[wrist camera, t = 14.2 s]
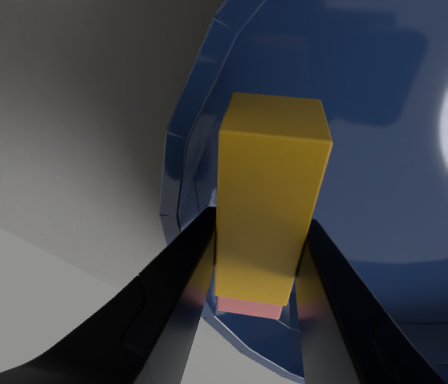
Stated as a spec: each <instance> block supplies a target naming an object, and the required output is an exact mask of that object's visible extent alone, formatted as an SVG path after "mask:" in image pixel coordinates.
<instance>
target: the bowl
mask: <svg viewBox="0 0 448 384" xmlns="http://www.w3.org/2000/svg"><path fill="white" fill-rule="evenodd" d="M233 92H241V93H252V94H264V95H275V96H287V97H298V98H310V99H319V100H321V102H322V105H323V109H324V112H325V116H326V119H327V123H328V127H329V130H330V134H331V137H332V141H333V145H332V149H331V152H330V156H329V159H328V163H327V166H326V170H325V173H324V177H323V181H322V184H321V188H320V191H319V195H318V198H317V202H316V205H315V209H314V212H313V216H312V219H316V220H317V221H318V222H319V223H320V224H321V226H322V227H323V228H324V230H325V231H326V232H327V234H328V235H329V236H330V238H331V239H332V240H333V242H334V243H335V244H336V245H337V247H338V248H339V249H340V251H341V252H342V253H343V255H344V256H345V257H346V259H347V260H348V261H349V263H350V264H351V265H352V267H353V268H354V269H355V270H356V272H357V273H358V274H359V276H360V277H361V278H362V280H363V281H364V282H365V284H366V285H367V286H368V288H369V289H370V290H371V291H372V293H373V294H374V295H375V297H376V298H377V299H378V301H379V302H380V303H381V305H382V306H383V307H384V309H385V312H388V314H389V315H390V316H391V318H392V319H393V320H394V322H395V323H396V324H397V325H398V327H399V328H400V329H401V330H402V332H403V333H404V334H405V335H406V337H407V338H408V339H409V340H410V342H411V343H412V344H413V345H414V346H415V348H416V349H417V350H418V351H419V352H420V353H421V354H422V356H423V357H424V358H425V359H426V360H427V361H428V363H429V364H430V365H431V366H432V367H433V368H434V369H435V370H436V371H437V373H438V374H439V375H440V376H441V377H442V378H443V379H444V380H445V381H446V382H447V384H448V0H223V2H222V3H221V5H220V6H219V7H218V9H217V10H216V11H215V15H214V16H213V17H212V18H211V21H210V23H209V26H208V28H207V31H206V33H205V35H204V38H203V40H202V43H201V45H200V48H199V50H198V53H197V55H196V57H195V60H194V62H193V65H192V67H191V70H190V72H189V75H188V77H187V79H186V82H185V84H184V87H183V89H182V92H181V94H180V97H179V99H178V101H177V104H176V106H175V109H174V111H173V114H172V116H171V119H170V121H169V123H168V126H167V131H166V133H165V144H164V156H163V168H162V180H161V191H160V203H159V216H160V220H161V224H162V228H163V232H164V236H165V240H166V244H167V246H168V245H169V244H170V243H171V242H172V241H173V240H174V239H175V238H176V237H177V236H178V235H179V234H180V233H181V232H182V231H183V230H184V229H185V228H186V227H187V226H188V225H189V224H190V223H191V222H192V221H193V220H194V219H195V218H196V217H197V216H198V215H199V214H200V213H201V212H203V211H204V210H205V209H206V208H207V207H208V206H212V207H216V204H217V169H218V134H219V129H220V127H221V124H222V121H223V118H224V115H225V112H226V109H227V106H228V103H229V100H230V97H231V94H232V93H233ZM214 274H215V266H214V271H213V276H212V280H211V284H210V287H209V290H208V294H207V297H206V300H205V304H204V307H203V310H202V313H201V317H203V319H204V320H205V321H206V322H207V323H208V324H209V325H211V326H212V327H213V328H214V329H215V330H216V331H217V332H218V333H219V334H220V335H222V336H223V337H224V338H225V339H226V340H227V341H228V342H229V343H230V344H232V345H233V346H234V347H235V348H236V349H237V350H238V351H239V352H240V353H242V354H244V355H246V356H247V357H249V358H251V359H252V360H254V361H256V362H258V363H259V364H261V365H263V366H264V367H266V368H268V369H270V370H271V371H273V372H275V373H277V374H278V375H280V376H282V377H285V378H287V379H290V380H292V381H295V382H297V383H300V384H305V377H304V368H303V358H302V349H301V339H300V329H299V320H298V310H297V301H296V283H295V281H296V275H295V279H294V283H293V286H292V290H291V293H290V297H289V300H288V304H287V305H286V306H283V307H282V311H281V315H280V318H279V319H271V318H264V317H258V316H251V315H244V314H238V313H231V312H224V311H219V310H217V296H215V295H214Z"/></svg>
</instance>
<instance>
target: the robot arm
mask: <svg viewBox="0 0 448 384" xmlns="http://www.w3.org/2000/svg"><path fill="white" fill-rule="evenodd" d="M215 241H216V207H212V206H208V207H207V208H206V209H205V210H204V211H203V212H201V213H200V214H199V215H198V216H197V217H196V218H195V219H194V220H193V221H192V222H191V223H190V224H189V225H188V226H187V227H186V228H185V229H184V230H183V231H182V232H181V233H180V234H179V235H178V236H177V237H176V238H175V239H174V240H173V241H172V242H171V243H170V244H169V245H168V246H167V247H166V248H165V249H164V250H163V251H162V252H161V253H160V254H159V255H157V256H156V257H155V258H154V259H153V260H152V261H151V262H150V263H149V264H148V265H147V266H146V267H145V268H144V269H143V270H142V271H141V272H140V273H139V276H136V277H135V278H134V279H133V280H132V281H131V282H130V283H129V284H128V285H127V286H125V287H124V288H123V289H122V290H121V291H120V292H119V293H118V294H117V295H116V296H115V297H114V298H112V299H111V300H110V301H109V302H108V303H106V304H105V305H104V306H103V307H102V308H100V309H99V310H98V311H97V312H96V313H94V314H93V315H92V316H90V318H88V319H87V320H85V321H84V322H83V323H82V324H80V325H79V326H78V327H77V328H75V329H74V330H73V331H72V332H70V333H69V334H68V335H66V336H65V337H64V338H63V339H61V340H60V341H59V342H58V343H56V344H55V345H54V346H52V347H51V348H50V349H49V350H47V351H46V352H44V353H43V354H41V355H39V356H38V357H36V358H34V359H33V360H31V361H29V362H27V363H25V364H23V365H20V366H17V367H15V368H12V369H9V370H6V371H4V372H1V373H0V384H180V382H181V379H182V376H183V373H184V369H185V366H186V363H187V359H188V356H189V353H190V350H191V346H192V343H193V340H194V336H195V333H196V330H197V327H198V323H199V320H200V317H201V313H202V310H203V307H204V304H205V300H206V297H207V294H208V290H209V287H210V284H211V280H212V276H213V271H214V266H215ZM295 283H296V301H297V310H298V320H299V329H300V339H301V349H302V358H303V368H304V377H305V384H447V382H446V381H445V380H444V379H443V378H442V377H441V376H440V375H439V374H438V373H437V371H436V370H435V369H434V368H433V367H432V366H431V365H430V364H429V363H428V361H427V360H426V359H425V358H424V357H423V356H422V354H421V353H420V352H419V351H418V350H417V349H416V348H415V346H414V345H413V344H412V343H411V342H410V340H409V339H408V338H407V337H406V335H405V334H404V333H403V332H402V330H401V329H400V328H399V327H398V325H397V324H396V323H395V322H394V320H393V319H392V318H391V316H390V315H389V314H388V312H385V309H384V307H383V306H382V305H381V303H380V302H379V301H378V299H377V298H376V297H375V295H374V294H373V293H372V291H371V290H370V289H369V288H368V286H367V285H366V284H365V282H364V281H363V280H362V278H361V277H360V276H359V274H358V273H357V272H356V270H355V269H354V268H353V267H352V265H351V264H350V263H349V261H348V260H347V259H346V257H345V256H344V255H343V253H342V252H341V251H340V249H339V248H338V247H337V245H336V244H335V243H334V242H333V240H332V239H331V238H330V236H329V235H328V234H327V232H326V231H325V230H324V228H323V227H322V226H321V224H320V223H319V222H318V221H317V220H316V219H311V223H310V226H309V230H308V233H307V237H306V240H305V244H304V247H303V251H302V254H301V258H300V261H299V265H298V268H297V272H296V281H295Z"/></svg>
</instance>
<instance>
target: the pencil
mask: <svg viewBox="0 0 448 384" xmlns="http://www.w3.org/2000/svg"><path fill="white" fill-rule="evenodd" d="M332 145H333V141H332V137H331V134H330V130H329V127H328V123H327V119H326V116H325V112H324V109H323V105H322V102H321V100H319V99H310V98H298V97H287V96H275V95H264V94H252V93H241V92H233V93H232V94H231V97H230V100H229V103H228V106H227V109H226V112H225V115H224V118H223V121H222V124H221V127H220V129H219V134H218V169H217V204H216V241H215V274H214V295H215V296H217V310H219V311H224V312H231V313H238V314H244V315H251V316H258V317H264V318H271V319H279V318H280V315H281V311H282V307H283V306H286V305H287V304H288V300H289V297H290V293H291V290H292V286H293V283H294V279H295V275H296V272H297V268H298V265H299V261H300V258H301V254H302V251H303V247H304V244H305V240H306V237H307V233H308V230H309V226H310V223H311V219H312V216H313V212H314V209H315V205H316V202H317V198H318V195H319V191H320V188H321V184H322V181H323V177H324V173H325V170H326V166H327V163H328V159H329V156H330V152H331V149H332Z"/></svg>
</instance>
